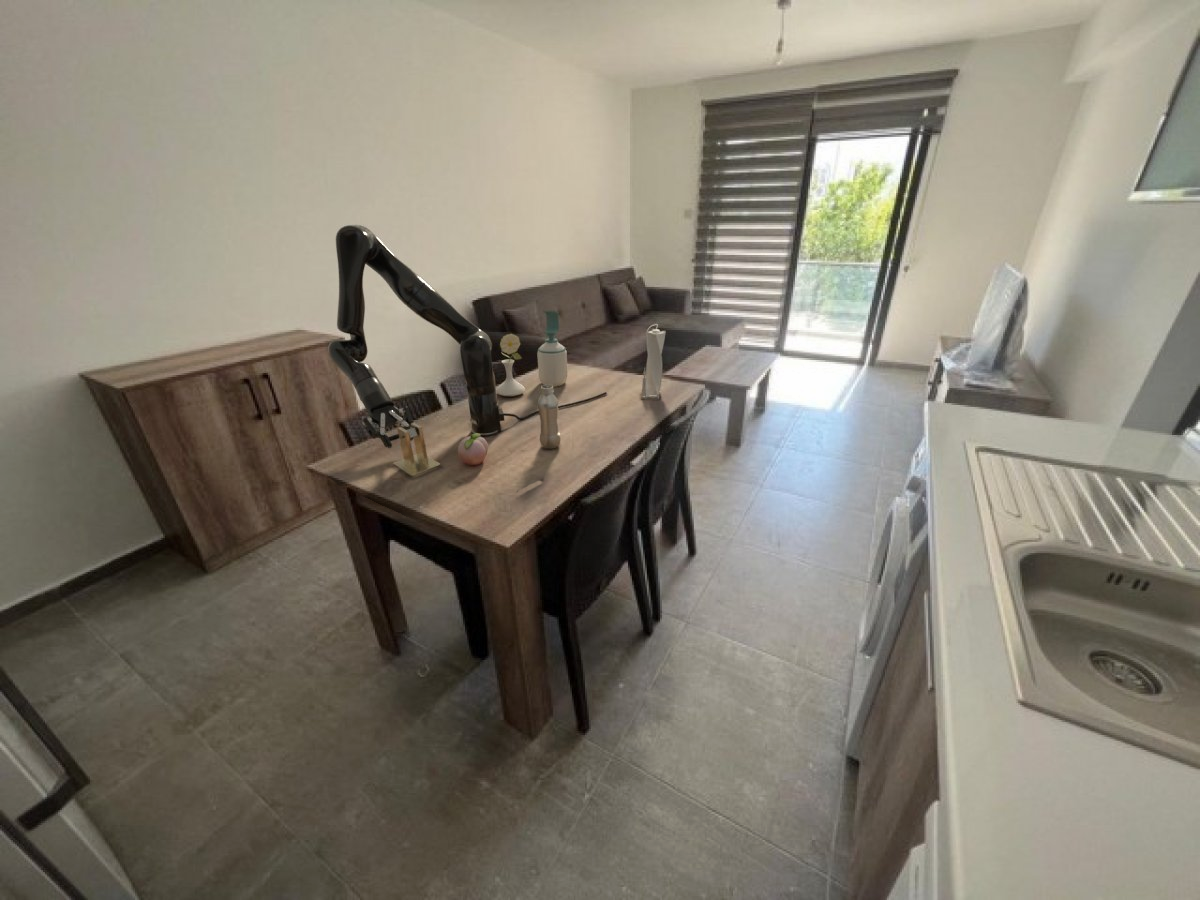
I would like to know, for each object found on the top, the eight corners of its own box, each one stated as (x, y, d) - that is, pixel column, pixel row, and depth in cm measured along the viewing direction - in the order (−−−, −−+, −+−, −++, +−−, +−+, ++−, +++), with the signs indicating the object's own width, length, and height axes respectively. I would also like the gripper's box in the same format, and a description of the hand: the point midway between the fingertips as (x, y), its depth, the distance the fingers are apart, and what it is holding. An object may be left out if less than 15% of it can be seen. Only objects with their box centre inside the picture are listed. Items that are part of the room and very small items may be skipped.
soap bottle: (535, 387, 202) (530, 312, 188) (543, 378, 213) (539, 306, 199) (564, 388, 200) (561, 312, 186) (570, 379, 211) (568, 307, 197)
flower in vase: (490, 395, 194) (484, 333, 183) (510, 387, 202) (505, 328, 191) (514, 401, 187) (508, 338, 176) (533, 393, 196) (529, 332, 184)
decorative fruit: (465, 457, 145) (460, 427, 141) (492, 457, 145) (488, 427, 140) (456, 472, 137) (451, 441, 132) (484, 473, 136) (480, 441, 132)
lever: (388, 443, 141) (385, 436, 140) (407, 437, 145) (404, 429, 144) (404, 440, 132) (401, 432, 132) (424, 433, 136) (420, 425, 136)
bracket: (393, 466, 140) (384, 427, 134) (421, 456, 146) (414, 417, 140) (412, 479, 133) (404, 438, 128) (441, 467, 139) (434, 427, 134)
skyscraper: (642, 392, 196) (645, 323, 184) (662, 392, 195) (666, 323, 183) (641, 399, 189) (643, 327, 176) (661, 400, 188) (666, 328, 175)
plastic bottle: (564, 443, 153) (561, 384, 144) (555, 452, 148) (552, 391, 139) (545, 440, 155) (542, 381, 146) (536, 449, 150) (532, 389, 141)
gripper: (351, 396, 136) (380, 446, 134) (399, 383, 145) (426, 430, 144) (348, 409, 141) (375, 456, 140) (394, 396, 151) (420, 440, 149)
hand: (401, 443), depth 142 cm, fingers closed on lever, 6 cm apart
